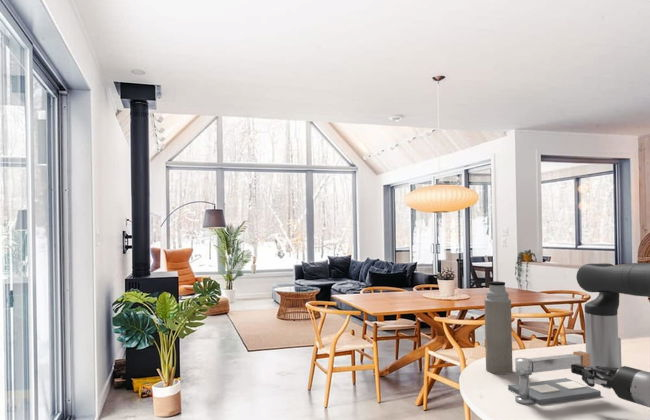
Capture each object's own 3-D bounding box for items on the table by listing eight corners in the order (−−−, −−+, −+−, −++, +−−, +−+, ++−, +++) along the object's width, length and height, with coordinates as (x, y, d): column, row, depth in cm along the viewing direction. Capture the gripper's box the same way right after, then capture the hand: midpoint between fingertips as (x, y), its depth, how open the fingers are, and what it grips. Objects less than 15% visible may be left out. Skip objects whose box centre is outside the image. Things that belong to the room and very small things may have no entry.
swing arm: (522, 376, 123) (522, 361, 123) (512, 372, 127) (511, 357, 127) (591, 368, 130) (591, 354, 130) (579, 364, 134) (579, 350, 134)
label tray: (566, 382, 141) (566, 376, 141) (600, 395, 129) (600, 390, 129) (508, 389, 135) (508, 384, 135) (539, 404, 123) (538, 398, 123)
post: (525, 397, 128) (525, 371, 129) (537, 403, 124) (536, 376, 124) (511, 399, 127) (511, 373, 127) (523, 405, 123) (522, 378, 123)
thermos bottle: (510, 367, 156) (508, 280, 157) (514, 374, 148) (512, 283, 149) (484, 366, 157) (482, 280, 158) (487, 373, 150) (485, 282, 151)
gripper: (659, 366, 112) (588, 350, 128) (624, 375, 106) (555, 356, 122) (660, 399, 112) (589, 378, 127) (625, 409, 106) (556, 386, 121)
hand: (572, 367), depth 124 cm, fingers closed
